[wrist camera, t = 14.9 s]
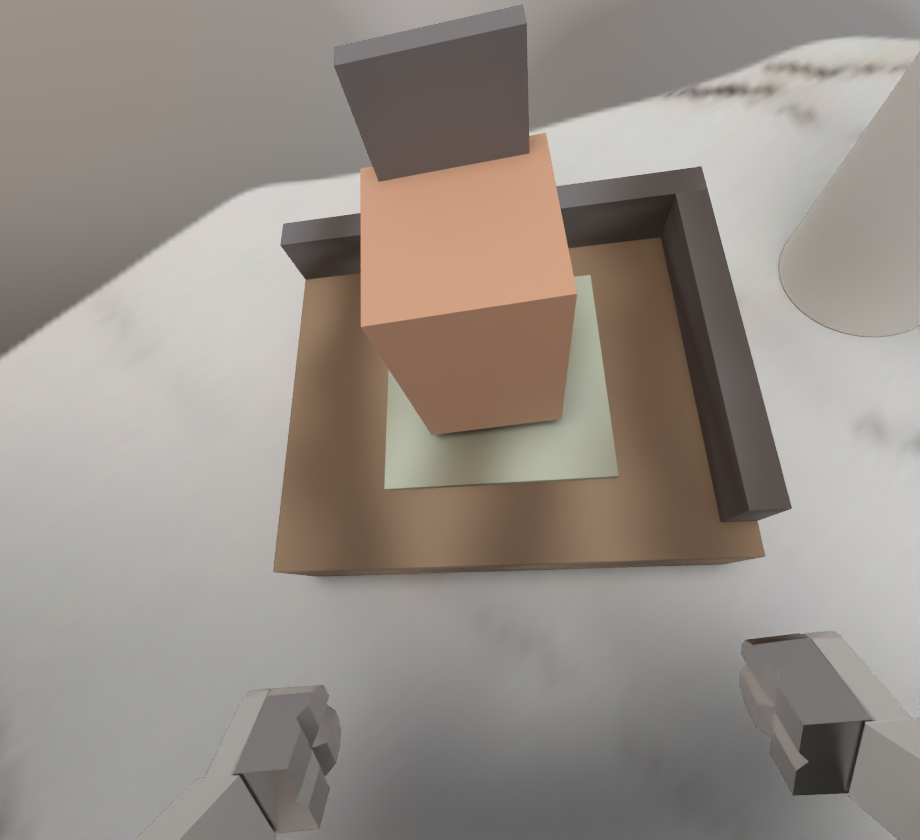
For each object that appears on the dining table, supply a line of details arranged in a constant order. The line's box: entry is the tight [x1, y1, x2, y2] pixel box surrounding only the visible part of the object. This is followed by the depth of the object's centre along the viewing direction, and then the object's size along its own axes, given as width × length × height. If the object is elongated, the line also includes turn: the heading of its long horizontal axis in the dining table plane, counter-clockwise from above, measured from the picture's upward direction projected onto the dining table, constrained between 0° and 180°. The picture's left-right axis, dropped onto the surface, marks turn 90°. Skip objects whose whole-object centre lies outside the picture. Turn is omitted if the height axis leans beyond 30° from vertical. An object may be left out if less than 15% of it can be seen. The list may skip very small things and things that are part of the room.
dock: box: [273, 167, 792, 576], centre depth 21 cm, size 18×15×6 cm
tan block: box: [334, 5, 577, 435], centre depth 15 cm, size 5×5×12 cm
